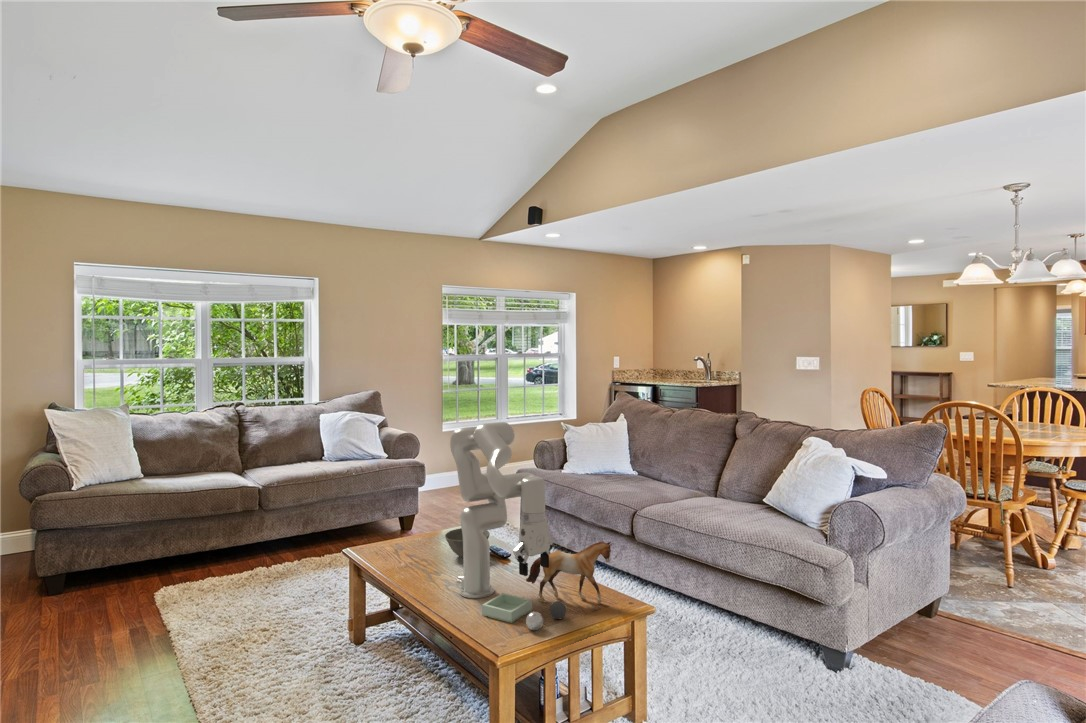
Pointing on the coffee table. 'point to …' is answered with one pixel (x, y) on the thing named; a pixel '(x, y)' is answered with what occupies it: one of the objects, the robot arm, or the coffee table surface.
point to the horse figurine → (571, 567)
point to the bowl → (458, 540)
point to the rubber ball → (558, 610)
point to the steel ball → (534, 620)
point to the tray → (507, 607)
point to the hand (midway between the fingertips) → (534, 570)
